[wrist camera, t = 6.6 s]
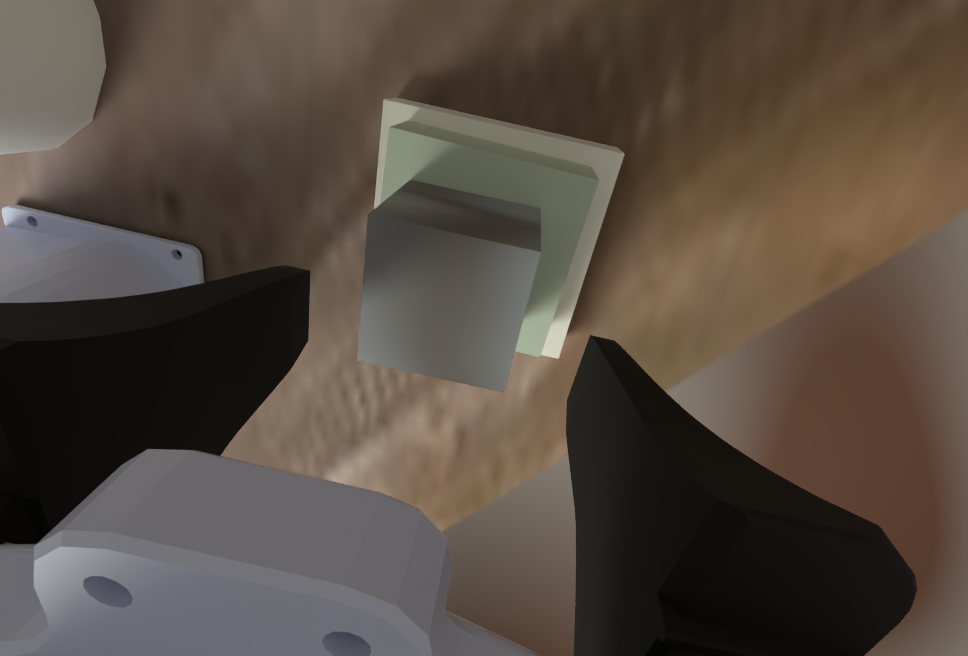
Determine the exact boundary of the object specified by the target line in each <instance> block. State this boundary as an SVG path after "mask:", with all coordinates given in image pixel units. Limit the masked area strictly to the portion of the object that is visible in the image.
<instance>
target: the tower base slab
mask: <svg viewBox="0 0 968 656" xmlns="http://www.w3.org/2000/svg"><path fill="white" fill-rule="evenodd" d="M407 120H409V121H413V122H417V123H421V124H425V125H429V126H433V127H437V128H441V129H445V130H449V131H453V132H457V133H460V134H464V135H468V136H472V137H476V138H480V139H484V140H488V141H492V142H496V143H500V144H504V145H508V146H512V147H516V148H520V149H523V150H527V151H531V152H535V153H539V154H543V155H547V156H551V157H555V158H559V159H563V160H567V161H571V162H575V163H579V164H582V165H586V166H590V167H592V168H593V170H594V172H595V173H596V175H597V177H598V179H599V182H598V185H597V188H596V191H595V194H594V197H593V200H592V203H591V206H590V209H589V212H588V215H587V218H586V221H585V224H584V227H583V230H582V233H581V236H580V239H579V242H578V245H577V248H576V251H575V254H574V257H573V260H572V263H571V266H570V269H569V272H568V275H567V278H566V281H565V284H564V287H563V290H562V293H561V296H560V299H559V302H558V305H557V308H556V311H555V314H554V317H553V320H552V323H551V326H550V329H549V332H548V335H547V338H546V341H545V344H544V347H543V350H542V353H541V355H544V356H549V357H553V358H559V355H560V352H561V349H562V346H563V343H564V340H565V337H566V333H567V330H568V327H569V324H570V321H571V318H572V315H573V312H574V309H575V306H576V303H577V300H578V296H579V293H580V290H581V287H582V284H583V281H584V278H585V275H586V272H587V269H588V266H589V263H590V259H591V256H592V253H593V250H594V247H595V244H596V241H597V238H598V235H599V232H600V229H601V226H602V222H603V219H604V216H605V213H606V210H607V207H608V204H609V201H610V198H611V195H612V192H613V189H614V185H615V182H616V179H617V176H618V173H619V170H620V167H621V164H622V161H623V158H624V155H625V154H624V153H623V152H622V151H621V150H620V149H619V148H618V147H613V146H609V145H605V144H600V143H596V142H591V141H587V140H583V139H578V138H574V137H569V136H565V135H561V134H556V133H552V132H547V131H543V130H539V129H534V128H530V127H525V126H521V125H517V124H512V123H508V122H503V121H499V120H494V119H490V118H486V117H481V116H477V115H472V114H468V113H464V112H459V111H455V110H450V109H446V108H442V107H437V106H433V105H428V104H424V103H420V102H415V101H411V100H406V99H402V98H398V97H396V98H389V99H384V100H383V112H382V123H381V134H380V146H379V157H378V168H377V180H376V191H375V203H374V209H375V208H376V207H378V206H379V205H380V202H381V193H382V185H383V176H384V168H385V159H386V151H387V142H388V134H389V127H390V126H393V125H396V124H399V123H402V122H404V121H407Z"/></svg>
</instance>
